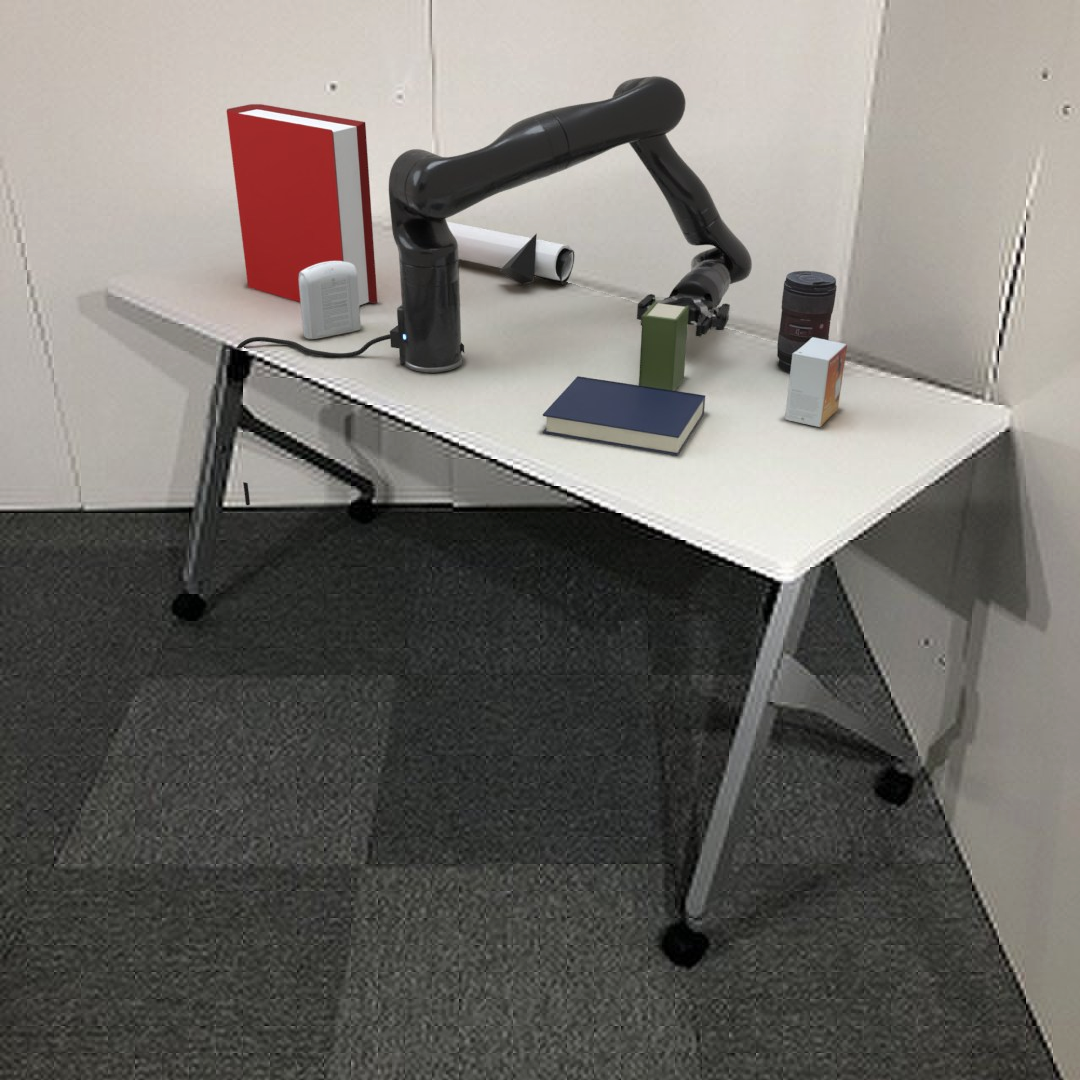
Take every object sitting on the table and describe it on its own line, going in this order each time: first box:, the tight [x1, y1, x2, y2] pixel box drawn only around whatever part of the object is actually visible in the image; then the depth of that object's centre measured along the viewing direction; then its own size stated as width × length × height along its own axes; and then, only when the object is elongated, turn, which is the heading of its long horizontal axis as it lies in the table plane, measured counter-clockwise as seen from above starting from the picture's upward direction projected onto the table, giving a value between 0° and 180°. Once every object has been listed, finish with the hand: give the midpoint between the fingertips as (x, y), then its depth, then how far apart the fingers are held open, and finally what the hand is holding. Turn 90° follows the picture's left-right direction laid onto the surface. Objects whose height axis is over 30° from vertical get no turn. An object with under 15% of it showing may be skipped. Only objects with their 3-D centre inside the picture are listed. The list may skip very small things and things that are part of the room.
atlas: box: [542, 375, 706, 457], centre depth 174 cm, size 20×15×3 cm
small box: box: [784, 337, 848, 428], centre depth 175 cm, size 8×6×10 cm
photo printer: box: [299, 261, 362, 340], centre depth 203 cm, size 10×4×12 cm, turn 123°
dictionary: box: [638, 301, 689, 391], centre depth 185 cm, size 5×7×12 cm
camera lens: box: [776, 270, 838, 374], centre depth 190 cm, size 8×8×15 cm
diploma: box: [446, 220, 575, 285], centre depth 233 cm, size 35×9×14 cm
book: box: [226, 103, 378, 306], centre depth 216 cm, size 27×8×32 cm, turn 54°
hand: (671, 327), depth 187 cm, fingers open, 8 cm apart
